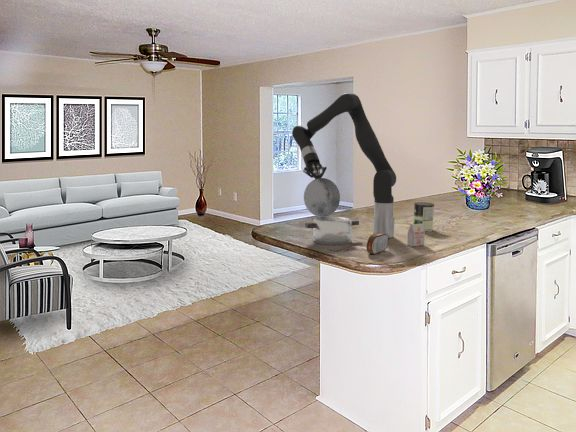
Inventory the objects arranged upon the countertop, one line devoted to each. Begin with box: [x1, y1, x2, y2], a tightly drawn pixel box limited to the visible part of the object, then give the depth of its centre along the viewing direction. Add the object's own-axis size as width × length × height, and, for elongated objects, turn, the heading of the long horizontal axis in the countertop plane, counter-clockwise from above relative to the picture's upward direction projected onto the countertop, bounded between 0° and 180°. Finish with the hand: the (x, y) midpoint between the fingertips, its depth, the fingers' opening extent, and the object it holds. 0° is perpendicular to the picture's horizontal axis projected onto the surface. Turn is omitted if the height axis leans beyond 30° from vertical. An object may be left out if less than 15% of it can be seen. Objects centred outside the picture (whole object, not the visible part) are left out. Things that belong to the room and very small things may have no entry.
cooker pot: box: [304, 216, 360, 246], centre depth 243 cm, size 27×18×10 cm, turn 112°
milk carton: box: [406, 224, 426, 247], centre depth 235 cm, size 4×7×10 cm, turn 115°
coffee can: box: [412, 201, 435, 232], centre depth 271 cm, size 10×10×14 cm
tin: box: [366, 232, 389, 255], centre depth 221 cm, size 15×3×8 cm, turn 141°
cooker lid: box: [303, 177, 341, 217], centre depth 253 cm, size 19×19×4 cm
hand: (319, 182), depth 253 cm, fingers closed
